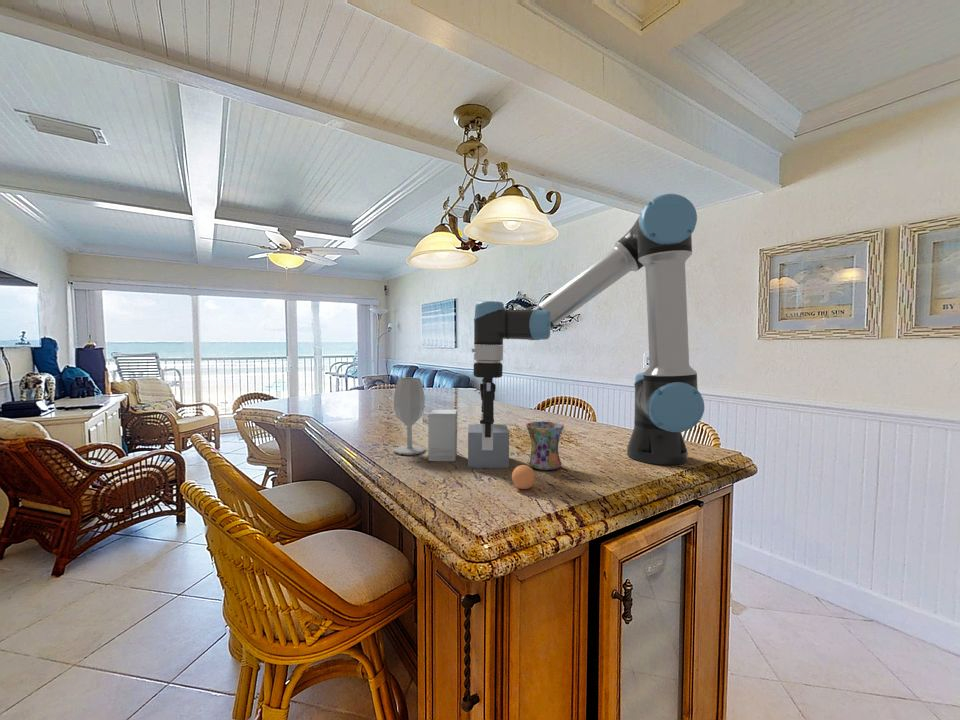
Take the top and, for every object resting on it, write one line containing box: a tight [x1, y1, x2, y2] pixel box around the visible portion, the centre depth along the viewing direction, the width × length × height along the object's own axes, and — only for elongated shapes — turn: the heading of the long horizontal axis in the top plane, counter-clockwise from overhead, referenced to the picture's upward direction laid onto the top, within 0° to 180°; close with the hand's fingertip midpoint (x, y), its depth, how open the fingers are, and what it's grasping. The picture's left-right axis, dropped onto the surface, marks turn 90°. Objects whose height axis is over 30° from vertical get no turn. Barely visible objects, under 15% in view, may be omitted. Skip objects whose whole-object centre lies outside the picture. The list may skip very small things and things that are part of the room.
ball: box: [511, 464, 536, 490], centre depth 89 cm, size 5×5×5 cm
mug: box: [525, 420, 565, 471], centre depth 106 cm, size 12×9×11 cm
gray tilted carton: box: [467, 423, 510, 469], centre depth 109 cm, size 10×10×9 cm
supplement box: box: [427, 409, 458, 462], centre depth 112 cm, size 7×7×13 cm
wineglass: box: [392, 376, 427, 456], centre depth 118 cm, size 9×9×21 cm
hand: (486, 443), depth 109 cm, fingers open, 13 cm apart
